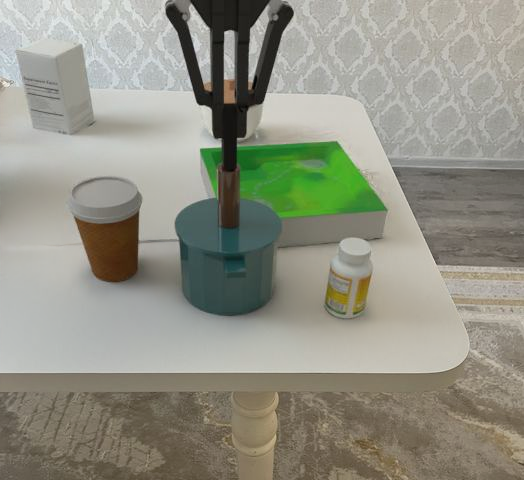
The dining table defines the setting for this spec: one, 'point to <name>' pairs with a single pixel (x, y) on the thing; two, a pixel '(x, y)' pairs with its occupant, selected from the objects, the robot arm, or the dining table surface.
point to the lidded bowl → (253, 112)
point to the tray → (304, 190)
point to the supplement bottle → (349, 278)
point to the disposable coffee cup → (108, 224)
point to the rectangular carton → (56, 85)
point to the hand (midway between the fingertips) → (229, 163)
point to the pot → (228, 280)
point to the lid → (228, 221)
